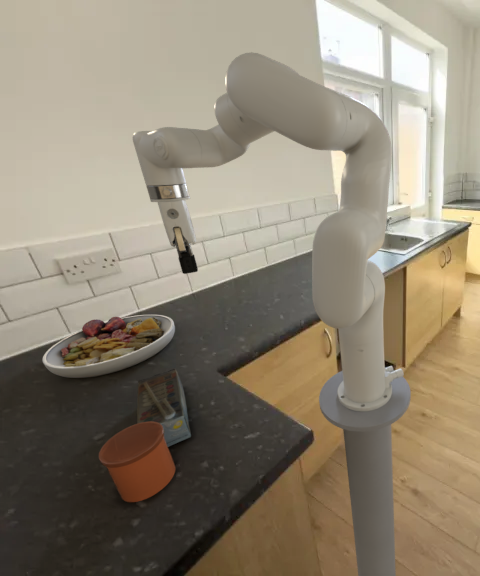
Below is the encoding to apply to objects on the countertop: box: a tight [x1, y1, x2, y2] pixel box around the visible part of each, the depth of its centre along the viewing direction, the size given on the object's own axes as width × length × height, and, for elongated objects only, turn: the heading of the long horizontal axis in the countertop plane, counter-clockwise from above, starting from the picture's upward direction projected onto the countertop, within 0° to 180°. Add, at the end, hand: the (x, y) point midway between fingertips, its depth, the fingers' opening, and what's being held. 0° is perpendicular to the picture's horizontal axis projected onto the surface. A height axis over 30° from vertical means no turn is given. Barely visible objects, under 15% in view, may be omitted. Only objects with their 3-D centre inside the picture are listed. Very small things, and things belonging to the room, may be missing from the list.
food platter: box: [42, 314, 176, 379], centre depth 93 cm, size 30×30×8 cm
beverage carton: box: [136, 368, 192, 448], centre depth 68 cm, size 8×19×7 cm, turn 35°
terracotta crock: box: [98, 421, 176, 503], centre depth 54 cm, size 9×9×9 cm
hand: (190, 271), depth 77 cm, fingers closed
